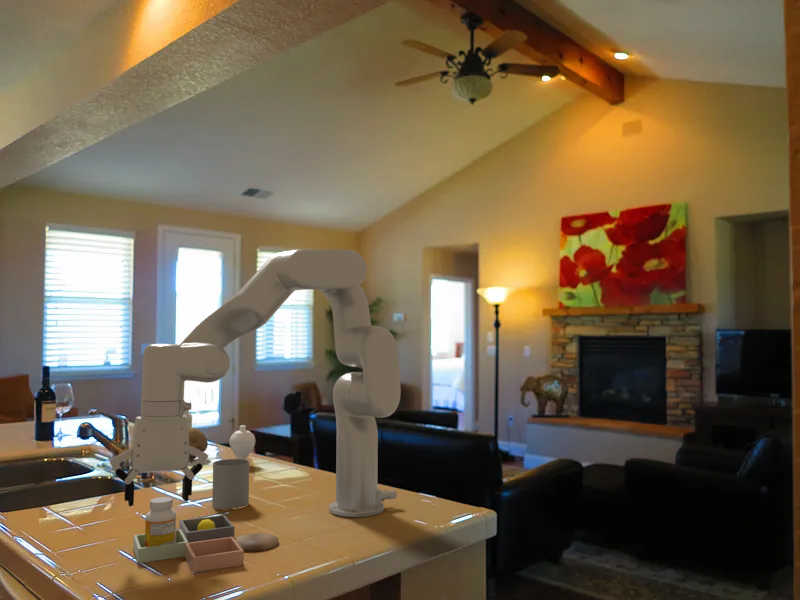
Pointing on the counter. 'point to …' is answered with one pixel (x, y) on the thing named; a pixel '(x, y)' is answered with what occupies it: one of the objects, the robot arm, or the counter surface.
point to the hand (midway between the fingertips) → (158, 502)
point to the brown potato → (197, 441)
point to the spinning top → (242, 443)
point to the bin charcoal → (220, 531)
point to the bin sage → (159, 548)
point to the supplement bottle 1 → (160, 522)
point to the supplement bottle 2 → (188, 418)
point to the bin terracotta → (213, 554)
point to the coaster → (256, 542)
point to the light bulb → (206, 525)
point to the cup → (230, 483)
